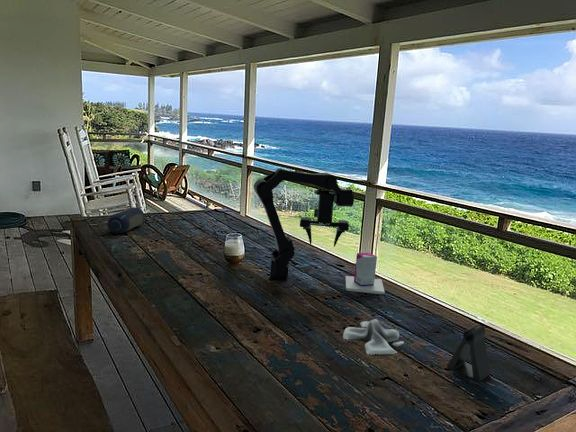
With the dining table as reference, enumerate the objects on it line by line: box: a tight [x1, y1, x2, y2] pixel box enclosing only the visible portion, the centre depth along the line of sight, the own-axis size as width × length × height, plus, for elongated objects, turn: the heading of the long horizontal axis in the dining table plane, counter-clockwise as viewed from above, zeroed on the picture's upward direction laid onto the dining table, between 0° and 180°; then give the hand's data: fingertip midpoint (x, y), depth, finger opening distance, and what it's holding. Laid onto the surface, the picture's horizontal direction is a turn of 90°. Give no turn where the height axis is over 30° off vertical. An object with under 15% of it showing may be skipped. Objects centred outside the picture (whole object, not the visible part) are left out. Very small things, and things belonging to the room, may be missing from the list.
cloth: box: [342, 318, 405, 356], centre depth 137 cm, size 22×19×6 cm
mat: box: [345, 275, 386, 295], centre depth 180 cm, size 14×14×1 cm
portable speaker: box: [107, 206, 146, 234], centre depth 238 cm, size 25×10×10 cm, turn 172°
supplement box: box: [353, 252, 378, 286], centre depth 178 cm, size 6×6×12 cm
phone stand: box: [446, 324, 492, 383], centre depth 121 cm, size 9×6×12 cm, turn 42°
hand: (322, 245), depth 184 cm, fingers open, 9 cm apart
